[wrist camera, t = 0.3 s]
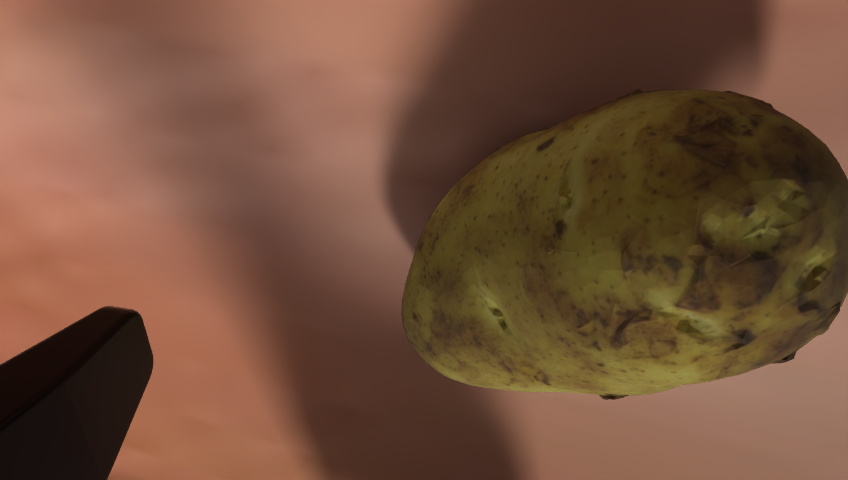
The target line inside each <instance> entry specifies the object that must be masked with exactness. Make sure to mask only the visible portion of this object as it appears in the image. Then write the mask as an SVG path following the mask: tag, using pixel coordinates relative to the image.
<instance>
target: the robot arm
mask: <svg viewBox="0 0 848 480" xmlns="http://www.w3.org/2000/svg"><path fill="white" fill-rule="evenodd" d="M152 369H153V354H152V350H151V347H150V343H149V340H148V336H147V333H146V329H145V326H144V323H143V319H142V317H141V315H140V314H139V313H138V312H137V311H135V310H132V309H126V308H119V307H113V306H106V307H102V308H100V309H98V310H96V311H95V312H93V313H91V314H89V315H87V316H86V317H84V318H82V319H80V320H79V321H77V322H75V323H73V324H72V325H70V326H68V327H66V328H64V329H63V330H61V331H59V332H57V333H56V334H54V335H52V336H50V337H48V338H47V339H45V340H43V341H41V342H40V343H38V344H36V345H34V346H32V347H31V348H29V349H27V350H25V351H24V352H22V353H20V354H18V355H17V356H15V357H13V358H11V359H9V360H8V361H6V362H4V363H2V364H1V365H0V480H107V478H108V476H109V474H110V472H111V469H112V467H113V465H114V462H115V460H116V458H117V455H118V453H119V451H120V448H121V446H122V443H123V441H124V439H125V436H126V434H127V431H128V429H129V427H130V424H131V422H132V419H133V417H134V415H135V412H136V410H137V407H138V405H139V403H140V400H141V398H142V396H143V393H144V391H145V388H146V386H147V384H148V381H149V379H150V376H151V373H152Z"/></svg>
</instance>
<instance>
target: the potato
mask: <svg viewBox="0 0 848 480" xmlns="http://www.w3.org/2000/svg"><path fill="white" fill-rule="evenodd" d="M847 293H848V180H847V177H846V175H845V173H844V171H843V170H842V168H841V166H840V164H839V162H838V161H837V160H836V158H835V157H834V155H833V154H832V153H831V151H830V150H829V148H828V147H827V146H826V144H824V143H823V142H822V141H821V140H820V139H819V138H817V137H816V136H815V135H814V134H813V133H812V132H811V131H809V130H808V129H807V128H805V127H804V126H802V125H801V124H799V123H798V122H796V121H795V120H793V119H792V118H790V117H788V116H786V115H784V114H782V113H780V112H779V111H777V110H775V109H774V108H773V107H772V105H771V104H769V103H765V102H764V101H762V100H759V99H755V98H753V97H749V96H745V95H742V94H738V93H735V92H731V91H724V92H719V91H707V90H661V91H651V92H650V91H649V92H643V91H641V90H639V89H638V90H635V91H633V92H631V93H629V94H627V95H625V96H622V97H620V98H618V99H616V100H615V101H613V102H610V103H607V104H604V105H601V106H598V107H596V108H593V109H591V110H588V111H586V112H583V113H581V114H578V115H576V116H574V117H571V118H569V119H567V120H565V121H563V122H561V123H559V124H557V125H555V126H554V127H552V128H550V129H547V130H541V131H537V132H534V133H531V134H528V135H525V136H522V137H520V138H518V139H516V140H514V141H511V142H509V143H507V144H506V145H504V146H502V147H500V148H497V149H496V150H495V151H494V152H493V153H492V154H491V155H489V156H488V157H486V158H485V159H484V160H482V161H481V162H480V163H479V164H478V165H477V166H475V167H474V168H473V169H472V170H471V171H470V172H468V173H467V174H466V175H465V176H464V177H463V178H462V179H461V180H460V181H459V182H458V183H457V184H456V185H455V186H454V187H453V188H452V189H451V190H450V191H449V192H448V193H447V194H446V196H445V197H444V198H443V199H442V200H441V202H440V203H439V204H438V206H437V207H436V209H435V210H434V212H433V213H432V215H431V216H430V217H429V219H428V220H427V222H426V224H425V226H424V229H423V231H422V233H421V236H420V238H419V241H418V244H417V247H416V251H415V254H414V257H413V261H412V264H411V267H410V270H409V274H408V277H407V280H406V284H405V289H404V294H403V299H402V320H403V326H404V329H405V333H406V335H407V338H408V340H409V342H410V344H411V345H412V347H413V348H414V350H415V351H416V352H417V353H418V354H419V355H420V357H421V358H422V359H423V360H424V361H425V362H427V363H428V364H429V365H430V366H432V367H433V368H434V369H435V370H436V371H438V372H439V373H441V374H443V375H444V376H446V377H448V378H450V379H453V380H456V381H459V382H462V383H465V384H469V385H473V386H479V387H485V388H494V389H503V390H512V391H524V392H573V393H586V394H598V395H599V396H600V397H601V398H602V399H606V400H608V399H615V400H616V399H619V398H623V397H625V396H629V395H647V394H653V393H658V392H662V391H666V390H669V389H672V388H674V387H677V386H679V385H685V384H696V383H703V382H710V381H714V380H718V379H722V378H727V377H731V376H735V375H739V374H742V373H745V372H748V371H751V370H754V369H756V368H759V367H762V366H765V365H768V364H771V363H783V362H787V361H790V360H792V359H794V356H795V353H796V351H798V350H799V349H800V348H802V347H803V346H804V345H805V344H807V343H808V342H809V341H811V340H812V339H813V338H815V337H816V336H818V335H821V334H823V333H824V332H826V331H827V330H828V329H829V326H830V324H831V323H832V322H833V320H834V319H835V317H836V316H837V314H838V313H839V311H840V307H841V306H842V304H843V302H844V299H845V297H846V295H847Z"/></svg>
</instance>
